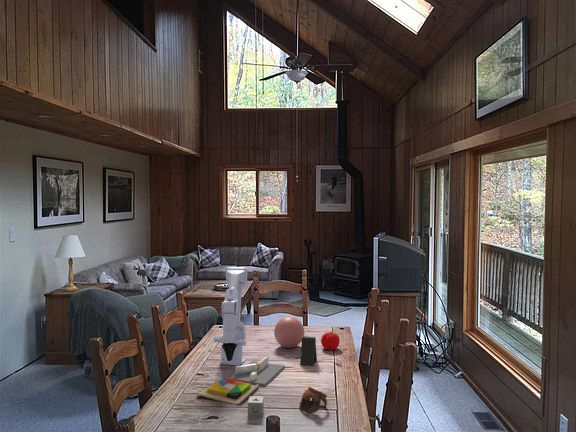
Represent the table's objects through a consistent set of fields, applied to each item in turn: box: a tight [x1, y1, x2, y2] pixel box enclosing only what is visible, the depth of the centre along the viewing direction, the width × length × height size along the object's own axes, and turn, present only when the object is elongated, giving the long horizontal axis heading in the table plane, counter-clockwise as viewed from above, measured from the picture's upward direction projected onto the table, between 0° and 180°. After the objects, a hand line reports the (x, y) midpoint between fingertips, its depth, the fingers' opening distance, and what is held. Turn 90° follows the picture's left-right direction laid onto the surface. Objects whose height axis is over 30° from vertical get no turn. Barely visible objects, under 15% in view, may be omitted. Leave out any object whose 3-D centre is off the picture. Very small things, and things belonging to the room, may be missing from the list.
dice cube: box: [247, 395, 265, 418], centre depth 158 cm, size 5×5×5 cm
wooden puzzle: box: [196, 376, 259, 405], centre depth 175 cm, size 18×19×4 cm
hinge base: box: [229, 355, 285, 387], centre depth 194 cm, size 16×22×4 cm
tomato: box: [320, 331, 341, 351], centre depth 228 cm, size 9×10×8 cm
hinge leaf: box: [234, 363, 259, 375], centre depth 192 cm, size 11×1×3 cm, turn 114°
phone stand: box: [299, 335, 318, 367], centre depth 208 cm, size 9×6×12 cm, turn 164°
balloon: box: [273, 316, 305, 349], centre depth 232 cm, size 15×20×15 cm
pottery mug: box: [298, 386, 328, 414], centre depth 161 cm, size 12×10×8 cm
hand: (229, 360), depth 193 cm, fingers closed
